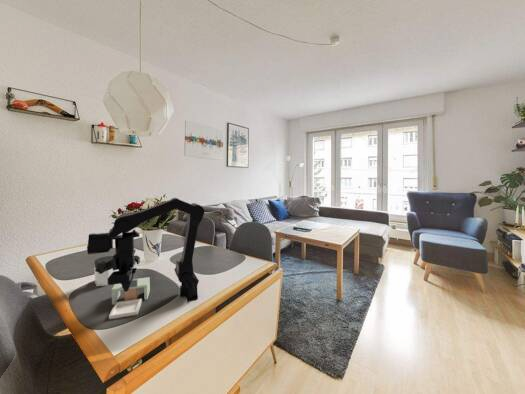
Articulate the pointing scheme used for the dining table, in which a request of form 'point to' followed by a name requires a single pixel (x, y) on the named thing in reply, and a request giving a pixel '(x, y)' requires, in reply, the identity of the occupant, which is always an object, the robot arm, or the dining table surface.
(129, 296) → the block
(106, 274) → the jar
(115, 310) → the dish
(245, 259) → the dining table surface
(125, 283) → the robot arm
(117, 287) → the cover
